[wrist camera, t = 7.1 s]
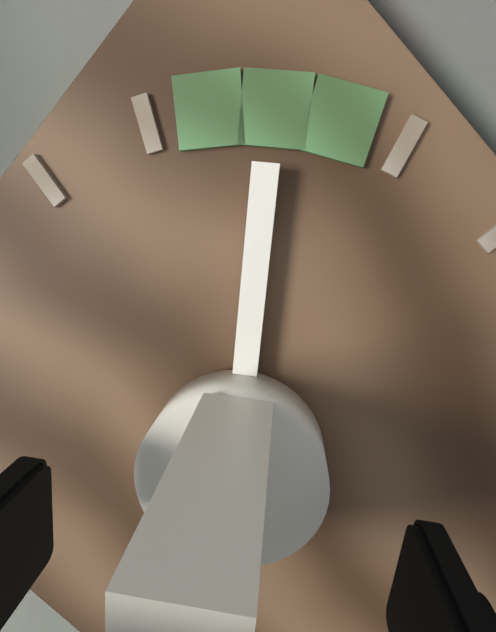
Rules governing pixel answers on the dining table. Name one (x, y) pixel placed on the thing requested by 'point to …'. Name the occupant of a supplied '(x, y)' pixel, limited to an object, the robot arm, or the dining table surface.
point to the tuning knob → (222, 476)
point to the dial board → (281, 296)
